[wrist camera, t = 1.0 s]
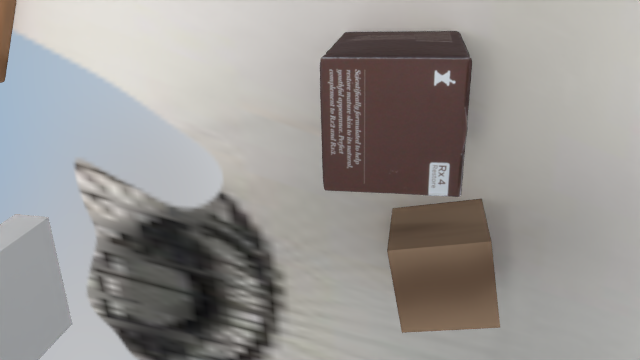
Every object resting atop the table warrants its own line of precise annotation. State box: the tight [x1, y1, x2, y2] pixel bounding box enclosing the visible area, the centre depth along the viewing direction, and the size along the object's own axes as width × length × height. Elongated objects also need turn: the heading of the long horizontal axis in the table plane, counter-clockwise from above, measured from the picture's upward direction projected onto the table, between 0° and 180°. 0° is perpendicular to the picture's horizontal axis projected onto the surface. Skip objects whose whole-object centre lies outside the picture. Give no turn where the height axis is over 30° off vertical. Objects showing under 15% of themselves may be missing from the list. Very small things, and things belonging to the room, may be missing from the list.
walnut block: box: [387, 199, 500, 333], centre depth 29 cm, size 5×5×5 cm
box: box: [320, 31, 472, 197], centre depth 25 cm, size 6×6×7 cm
